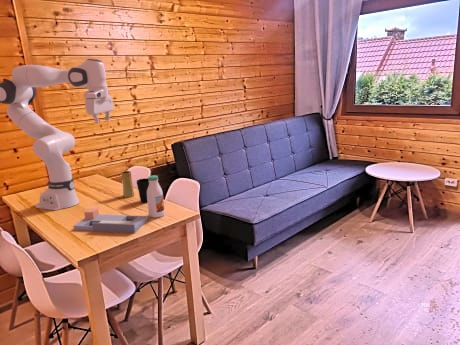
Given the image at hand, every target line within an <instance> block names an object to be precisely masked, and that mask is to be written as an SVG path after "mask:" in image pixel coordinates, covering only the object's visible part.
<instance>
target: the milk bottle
mask: <svg viewBox="0 0 460 345" xmlns="http://www.w3.org/2000/svg"><path fill="white" fill-rule="evenodd" d="M147 179H148V180H149V186H148V189H147V202H148V203H147V210H148V217H150V218H153V219H154V218H155V219H156V218H161V217H163V216H165V215H166V214H165V202H164V194H163V189H162V187H161V185H160V183H159V177H158V175H157V174H155V175H149V176H147Z"/></svg>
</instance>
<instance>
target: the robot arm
mask: <svg viewBox="0 0 460 345" xmlns="http://www.w3.org/2000/svg"><path fill="white" fill-rule="evenodd" d="M66 83H69V84H70V85H71V86H73V87H77V88H88V90H87V91H86V92H84V93H83V99H85V100H84V106H85V111H86V113H87V115H90V116H91V115H92V118H93V119H94V123H95V124H100V122H101V121H100V119H99V114H103V113H104V114H105V116H104V121H108V122H109V121H110V116H111V112H112V111H114V109H115V106H114V101H113V98H112V96H111V94H110V93H109V89H108V88H109V87H108V83H107V73H106V69H105V64H104V62H103V61H102V60H100V59H96V58H86V60H84V62H83V63H81V64H79V65H76V66H74V67H71V68H70V69H61V68H55V67H51V66H46V65H40V64H26V65H25V64H24V65H19V66H15V67H14V68H13V70H12V72H11V78H10V79H7V78H6V79H4V80H3V81H1V82H0V104H5V105H8V106H7V108H6V114H7V116H8V117H9V118H10V120H11V121H12V122H13V123H14V124H15V125H16V127H18V128H19V129H20V130H21V131H22V132H24V133H25V134H26V135H27V136H28V137H30V138H32V139H35V141H34V142H33V144H32V150H33V153H34V154H35V155H36V157H38V158H40V159H41V160H42V161H43V163H44V164H45V166H46V169H47V173H48V177H49V178H48V179H49V181H47V182H46V183H45V184H46V186H48V187H47V188H46V189H45V190H44V191H43V192H42V193H41V194H40V195H39V198H38V199H39V201H38V203H37V204H36V205H35V209H41V210H51V211H57V210H61V209H67V208H70V207H74V206H76V205H78V204H79V203H80V199H79V198H78V196H77V193H76V190H75V181H74V178H73V175H72V169H71V165H70V163H69V162H67V161H66V160H65V159H64V157H63V154H64V153H65V154H66V153H68V152H69V151H71V150H72V149H74V148H75V145H76V139H75V137H74V136H73V135H72V133H70V132H67V131H63V130H61V129H59V128H57V127H56V126H53V125H52V124H50V123H48V122H46V121H45V120H44V119H43V118H42V117H41V116H40V115H38V114H37V112H35V111H33V109H32V108H31V107H30V105H31V104H33V103H34V100H35V98H37V97H36V96H37V88H46V87H51V86H56V85H59V84H66Z"/></svg>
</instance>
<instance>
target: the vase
mask: <svg viewBox="0 0 460 345" xmlns="http://www.w3.org/2000/svg"><path fill="white" fill-rule="evenodd" d="M120 173H121V174H120V175H121V182H122V193H123V194H122V195H123V197H124V198H133V197H134V196H135V194H134V193H135V192H134V186H133V178H132V172H131V171H130V170H127V171H126V170H124V171H122V172H120Z"/></svg>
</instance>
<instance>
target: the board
mask: <svg viewBox="0 0 460 345" xmlns="http://www.w3.org/2000/svg"><path fill="white" fill-rule="evenodd" d="M148 221H149V215H129V214H128V215H127V214H125V215H124V214H123V215H122V214H100V213H99V216H98V217H96V218H95V219H85V217H84V218H83V219H81V220H80V221H78V222H77V223H75V224H74V225H73V229H74V231H91V232H97V233H98V232H99V233H100V232H101V233H121V234H122V233H123V234H136V233H137V232H138V231H139V230H140V229H141V228H142V226H144V225H145V224H146V223H147V222H148Z"/></svg>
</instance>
